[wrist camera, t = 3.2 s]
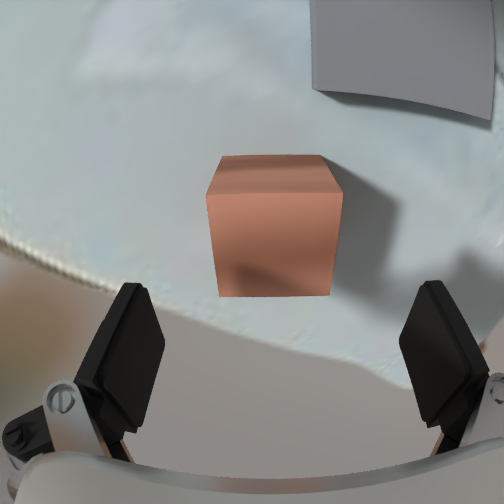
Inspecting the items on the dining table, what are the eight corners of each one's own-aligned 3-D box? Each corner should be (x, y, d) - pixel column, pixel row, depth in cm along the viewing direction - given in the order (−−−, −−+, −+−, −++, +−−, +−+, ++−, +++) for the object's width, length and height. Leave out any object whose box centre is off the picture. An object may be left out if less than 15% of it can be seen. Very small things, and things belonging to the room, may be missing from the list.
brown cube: (222, 155, 15) (205, 195, 11) (320, 154, 14) (343, 193, 10) (229, 238, 18) (219, 296, 13) (314, 237, 17) (329, 295, 13)
